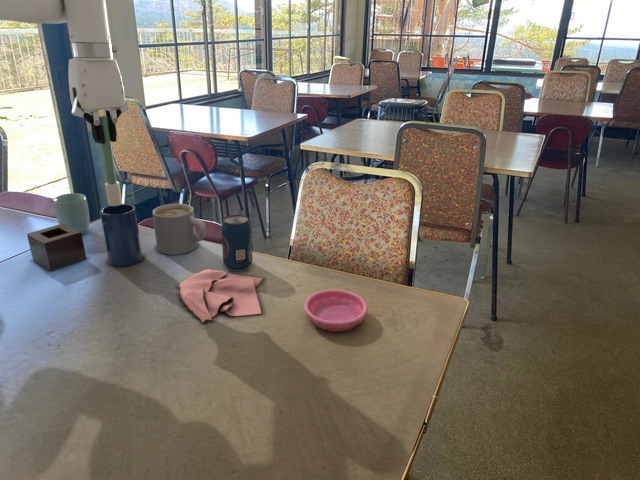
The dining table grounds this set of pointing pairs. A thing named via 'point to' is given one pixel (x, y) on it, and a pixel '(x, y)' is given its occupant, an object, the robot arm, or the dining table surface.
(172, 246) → the coffee mug
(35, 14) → the robot arm
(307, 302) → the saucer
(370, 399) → the dining table surface
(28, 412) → the dining table surface
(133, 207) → the tumbler
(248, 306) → the cloth
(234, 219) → the soda can
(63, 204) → the cup
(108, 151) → the brush
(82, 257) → the stand
